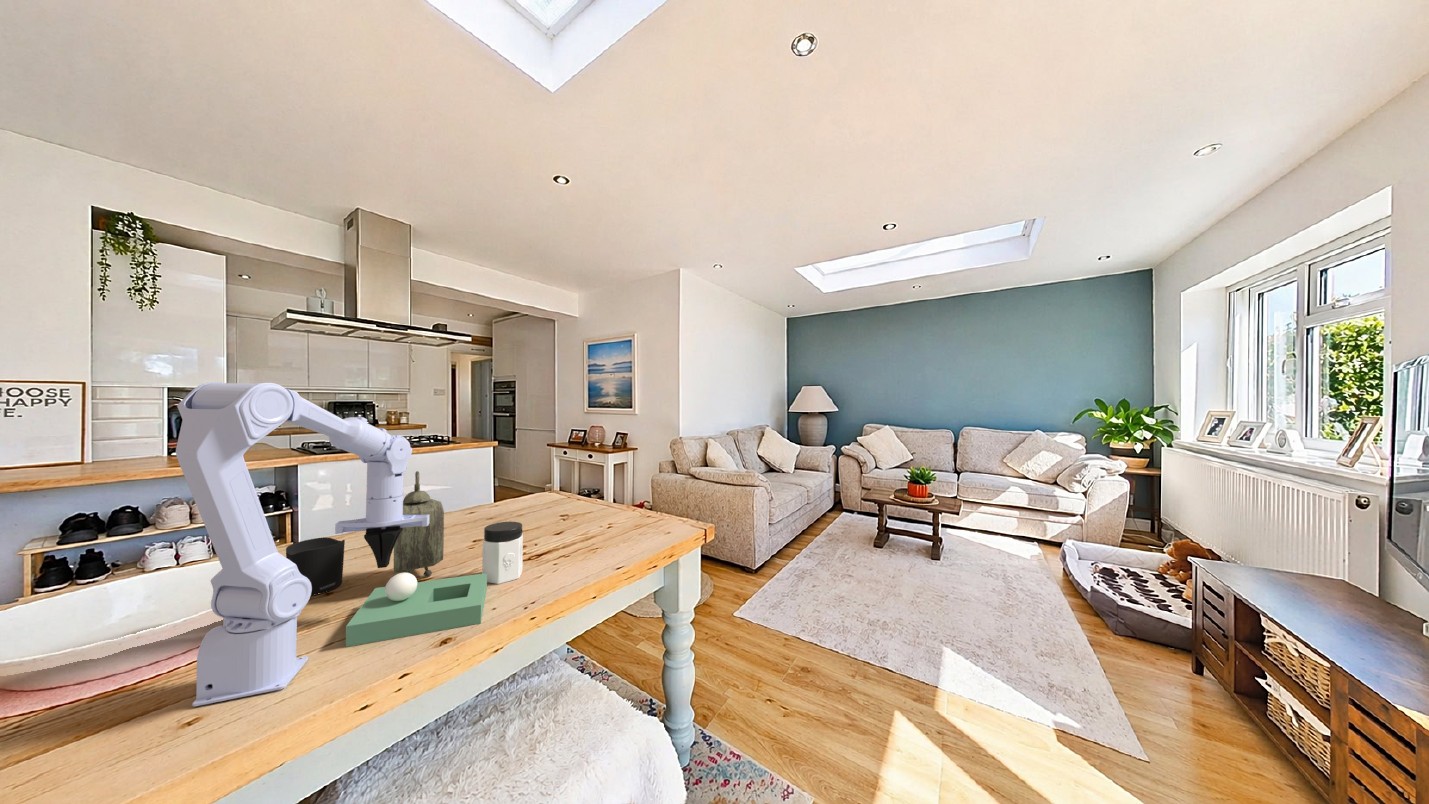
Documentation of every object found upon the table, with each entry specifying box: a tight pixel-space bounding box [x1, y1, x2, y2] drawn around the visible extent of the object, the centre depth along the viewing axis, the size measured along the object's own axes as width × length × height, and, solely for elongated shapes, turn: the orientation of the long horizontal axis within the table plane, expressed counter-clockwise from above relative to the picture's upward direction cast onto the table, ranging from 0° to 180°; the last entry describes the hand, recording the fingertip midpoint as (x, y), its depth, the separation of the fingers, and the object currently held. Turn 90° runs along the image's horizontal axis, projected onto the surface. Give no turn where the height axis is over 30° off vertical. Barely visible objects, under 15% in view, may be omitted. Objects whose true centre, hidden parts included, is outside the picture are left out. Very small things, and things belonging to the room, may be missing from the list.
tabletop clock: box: [393, 471, 445, 578], centre depth 100 cm, size 14×9×25 cm, turn 37°
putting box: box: [345, 573, 488, 648], centre depth 83 cm, size 20×16×4 cm
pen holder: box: [285, 536, 346, 596], centre depth 94 cm, size 9×9×10 cm
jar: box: [481, 521, 524, 585], centre depth 102 cm, size 9×8×12 cm
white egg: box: [384, 572, 418, 601], centre depth 82 cm, size 5×5×5 cm
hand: (383, 566), depth 83 cm, fingers closed
